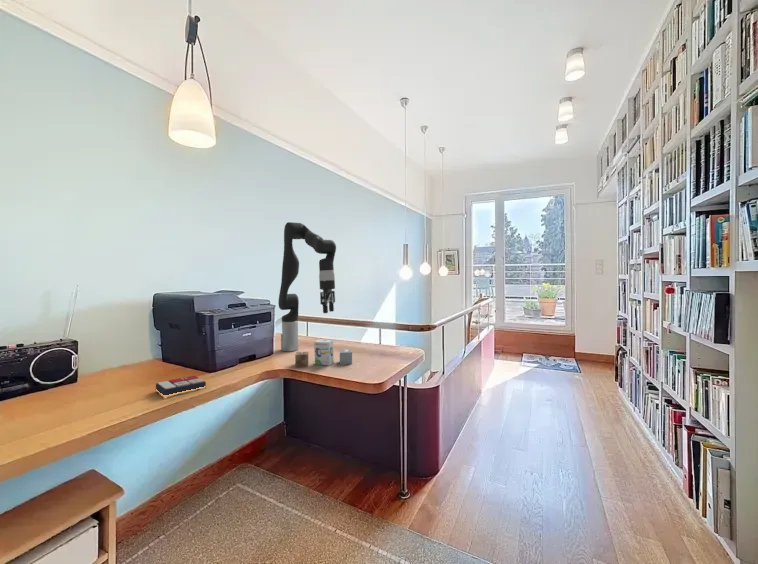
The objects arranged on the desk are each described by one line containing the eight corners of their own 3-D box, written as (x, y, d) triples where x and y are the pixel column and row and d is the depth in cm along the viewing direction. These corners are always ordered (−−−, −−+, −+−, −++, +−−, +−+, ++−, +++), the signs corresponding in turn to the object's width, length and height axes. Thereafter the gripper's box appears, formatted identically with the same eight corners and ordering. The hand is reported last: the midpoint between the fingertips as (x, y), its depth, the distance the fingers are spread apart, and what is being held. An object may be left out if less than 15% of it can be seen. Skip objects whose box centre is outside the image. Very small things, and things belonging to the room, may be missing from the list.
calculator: (206, 380, 142) (164, 387, 131) (205, 390, 142) (164, 399, 131) (195, 374, 149) (155, 381, 138) (195, 384, 149) (155, 392, 138)
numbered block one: (295, 367, 171) (295, 354, 171) (296, 363, 177) (296, 351, 177) (308, 366, 172) (307, 354, 172) (308, 363, 178) (308, 351, 177)
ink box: (334, 363, 177) (333, 340, 177) (329, 365, 172) (329, 342, 172) (318, 361, 180) (318, 339, 179) (314, 364, 175) (313, 341, 174)
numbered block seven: (340, 364, 175) (340, 352, 174) (339, 361, 181) (339, 349, 180) (352, 364, 176) (352, 351, 175) (351, 360, 181) (351, 349, 181)
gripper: (325, 280, 181) (326, 311, 181) (314, 280, 167) (316, 314, 167) (338, 279, 180) (340, 310, 180) (329, 279, 166) (330, 313, 166)
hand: (328, 312), depth 173 cm, fingers open, 8 cm apart
